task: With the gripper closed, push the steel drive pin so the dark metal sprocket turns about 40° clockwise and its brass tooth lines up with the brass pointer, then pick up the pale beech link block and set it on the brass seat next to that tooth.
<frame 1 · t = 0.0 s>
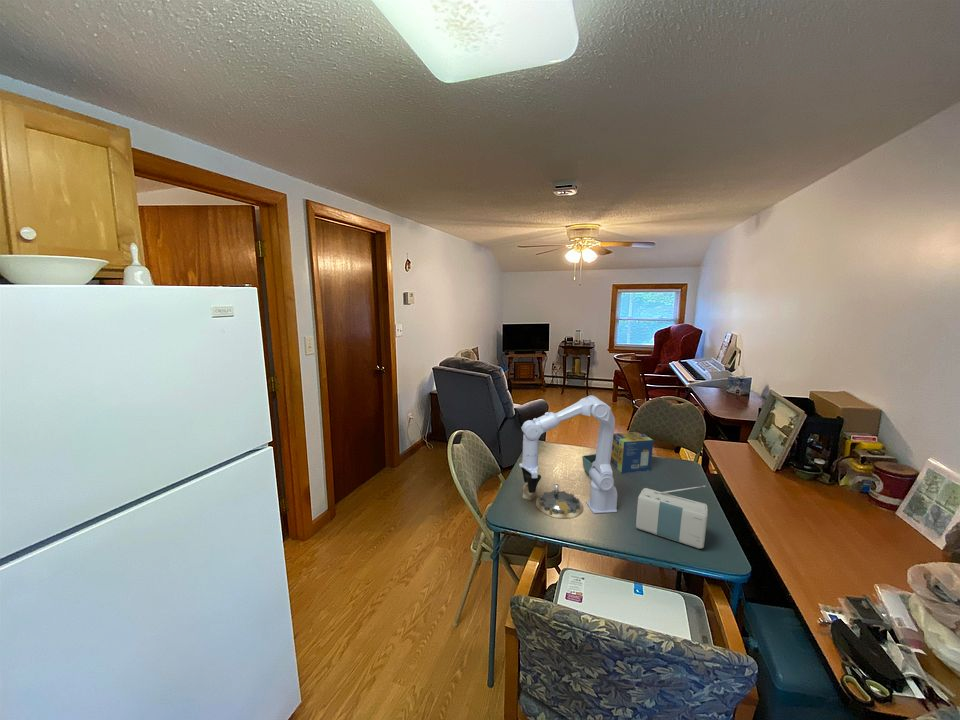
hand: (529, 487, 146), 10 cm above the table, fingers open, 7 cm apart
flower pot: (594, 477, 175), on the table
sprocket: (559, 497, 152), point 3 cm above the table, hinge at 0.0°
sprocket base: (559, 505, 152), on the table
stereo radio cassette player: (669, 535, 134), on the table
protein box: (630, 467, 186), on the table
link block: (529, 496, 159), on the table
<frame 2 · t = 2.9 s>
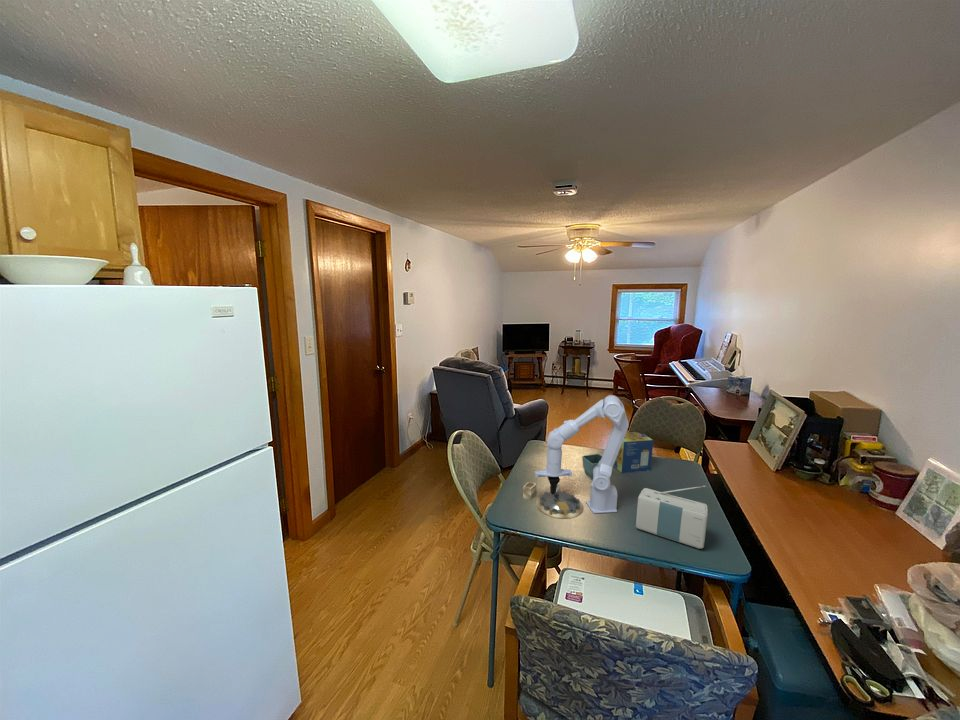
hand: (552, 493, 155), 3 cm above the table, fingers closed, pressing on sprocket
sprocket: (559, 497, 152), point 3 cm above the table, hinge at -1.8°, touching gripper
everything else where it was.
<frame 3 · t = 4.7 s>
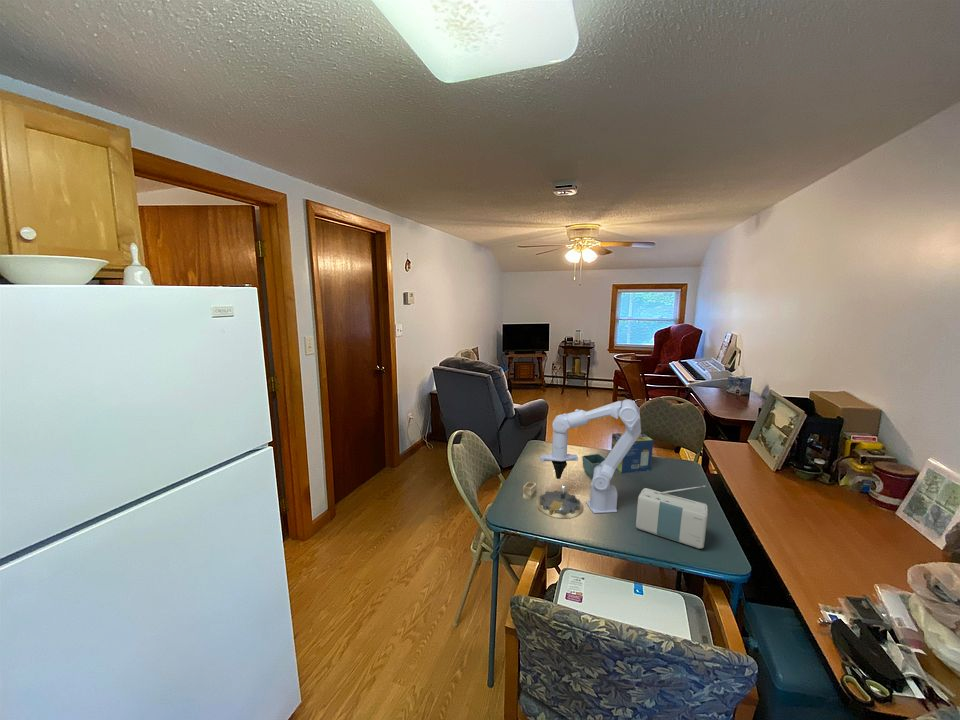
hand: (558, 477, 155), 9 cm above the table, fingers closed
sprocket: (559, 497, 152), point 3 cm above the table, hinge at -35.7°
everything else where it was.
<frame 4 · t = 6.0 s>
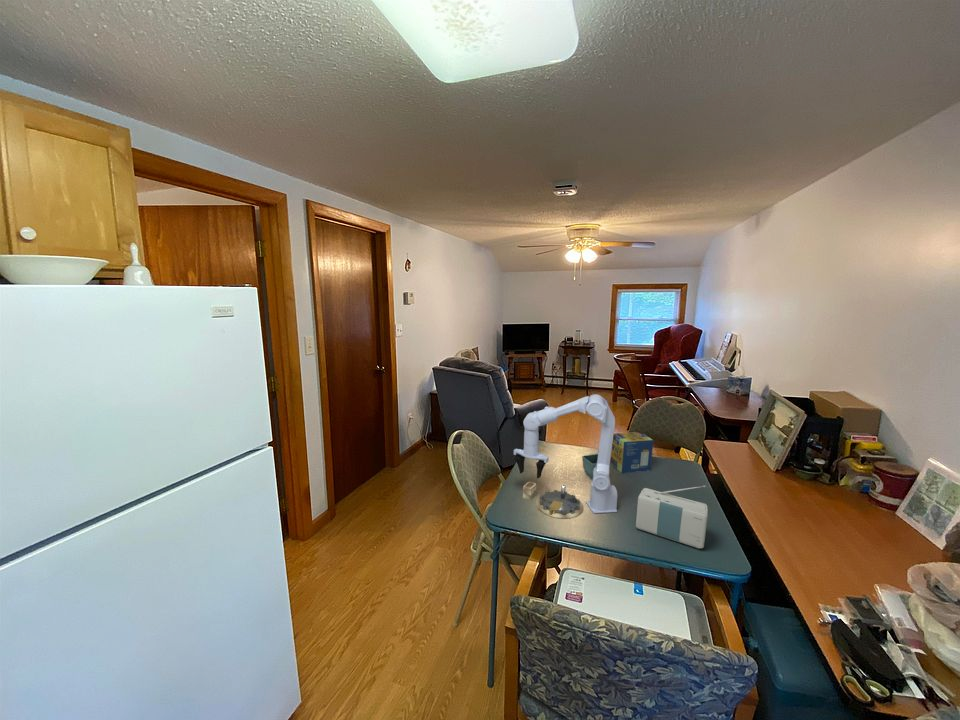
hand: (530, 474, 157), 9 cm above the table, fingers open, 7 cm apart
nothing on the table moved.
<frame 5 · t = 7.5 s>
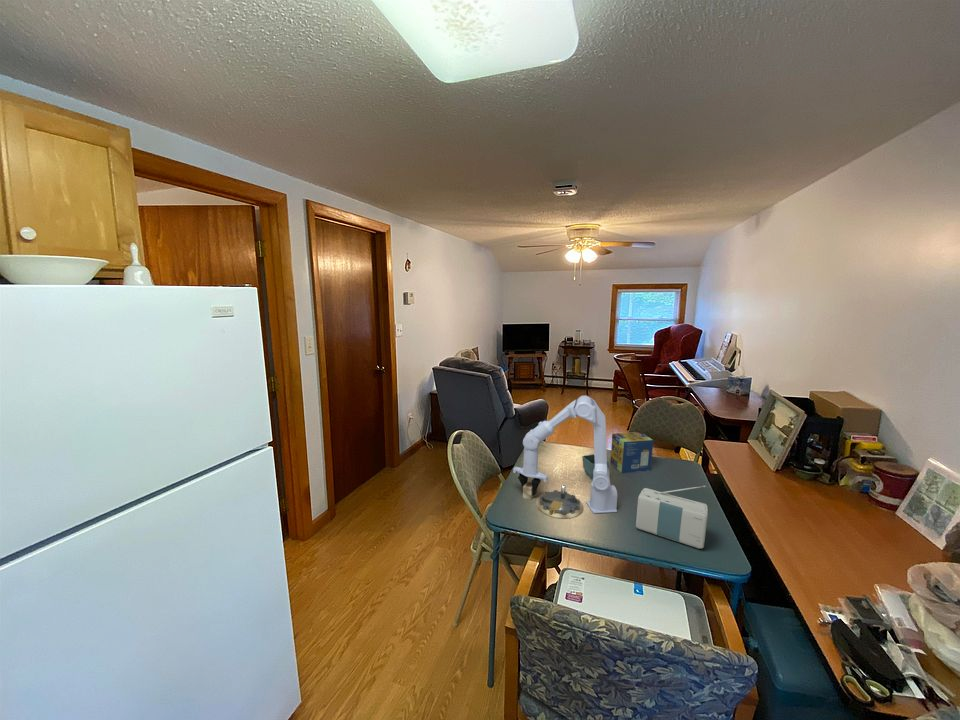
hand: (529, 493, 159), 1 cm above the table, fingers closed on link block, 3 cm apart
link block: (529, 496, 159), on the table, touching gripper
everything else where it was.
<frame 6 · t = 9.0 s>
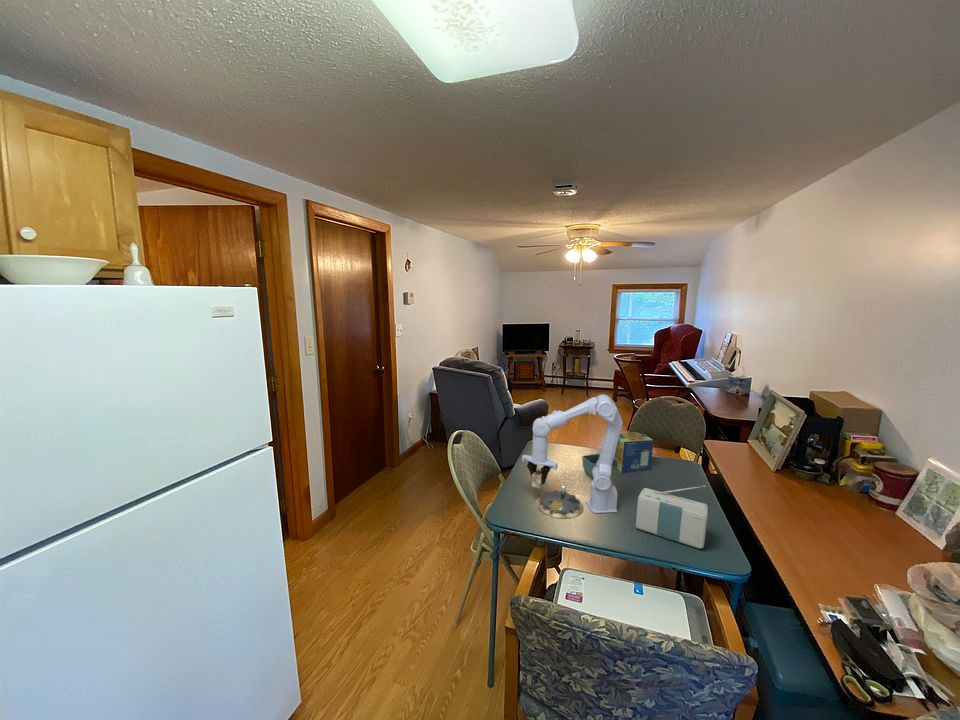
hand: (538, 481, 154), 8 cm above the table, fingers closed on link block, 3 cm apart
link block: (538, 484, 154), point 7 cm above the table, touching gripper
everything else where it was.
when the fingers open (5 cm above the table, at t = 10.5 s): link block stays where it is, resting on sprocket.
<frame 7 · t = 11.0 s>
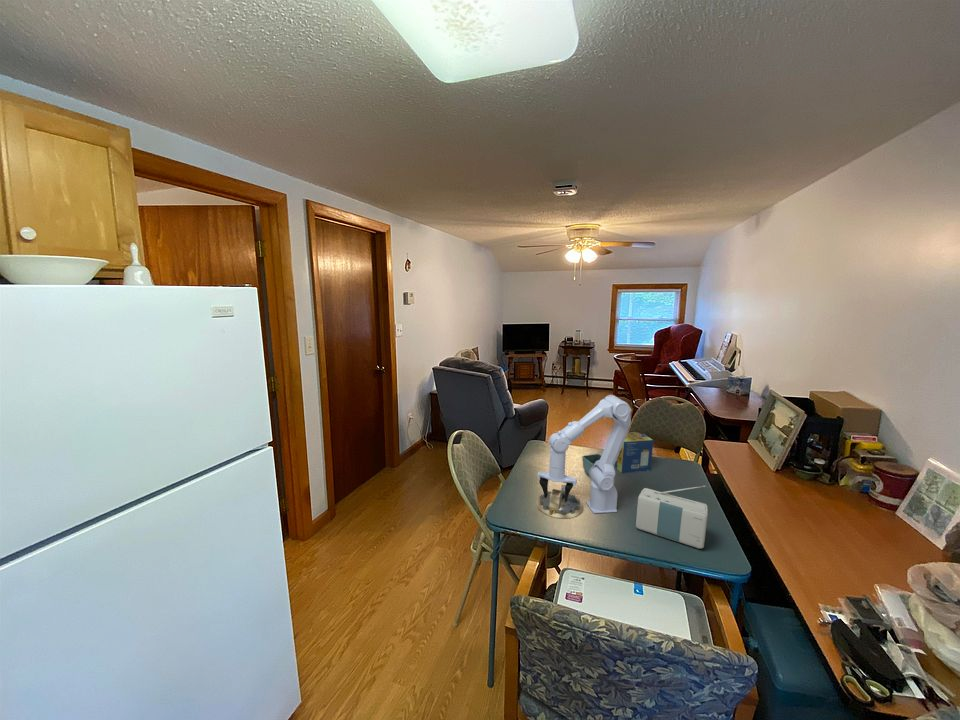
hand: (555, 498, 148), 5 cm above the table, fingers open, 7 cm apart
sprocket: (559, 497, 152), point 3 cm above the table, hinge at -35.7°, touching link block
link block: (555, 504, 148), point 2 cm above the table, touching sprocket
everything else where it was.
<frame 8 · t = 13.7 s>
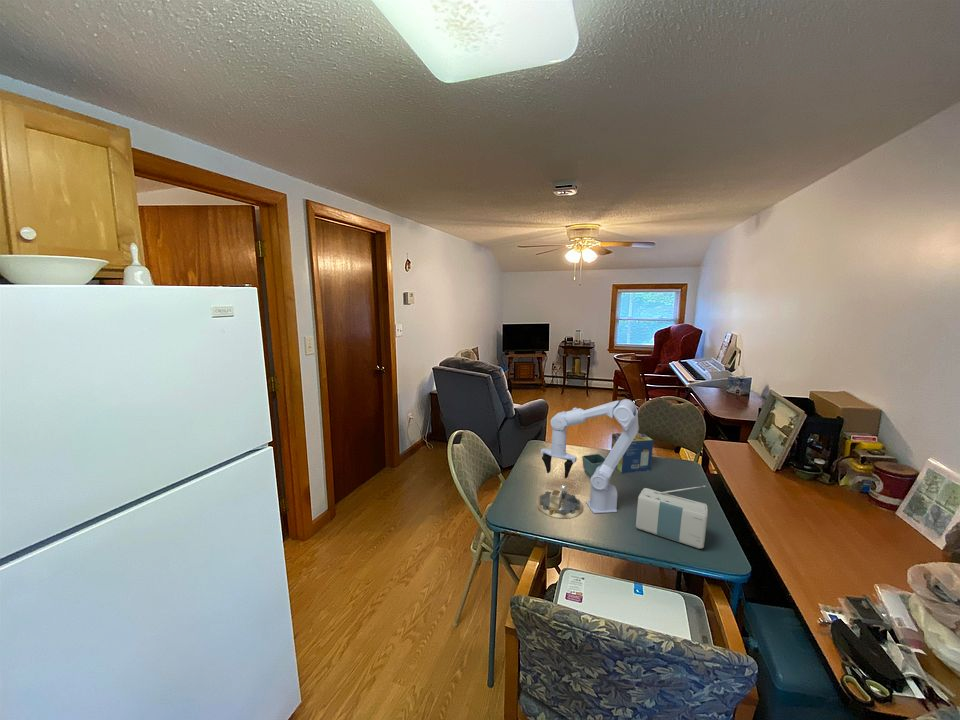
hand: (557, 474, 158), 9 cm above the table, fingers open, 7 cm apart
nothing on the table moved.
at the end: sprocket at -36° (first picture: +0°); link block 0.1 cm from the target spot on the sprocket, point 2.3 cm above the sprocket's base; link block tilted 0° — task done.
